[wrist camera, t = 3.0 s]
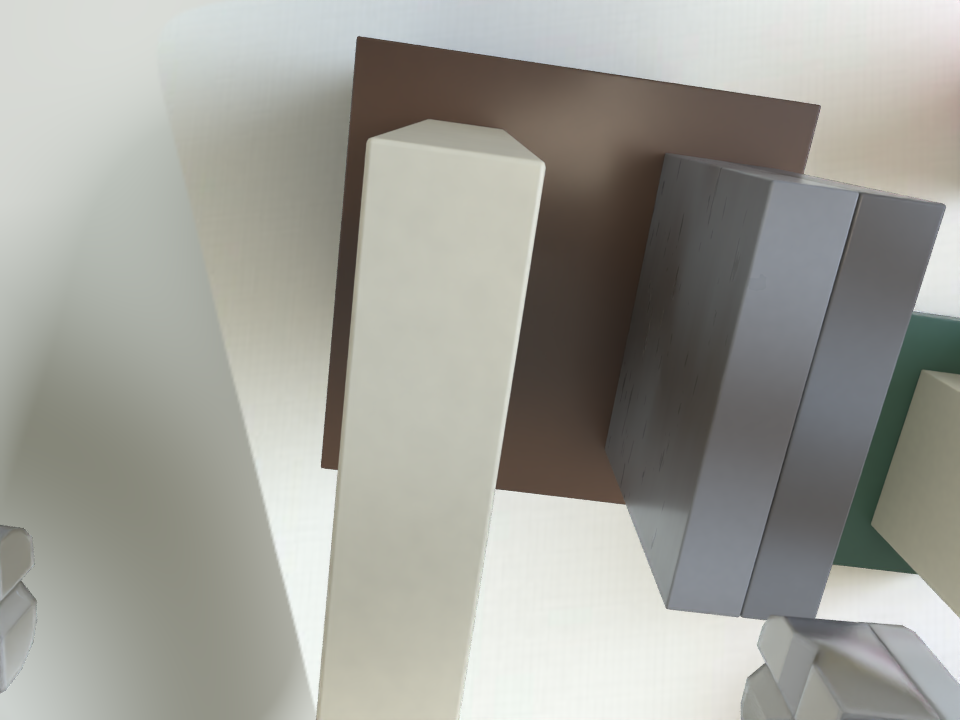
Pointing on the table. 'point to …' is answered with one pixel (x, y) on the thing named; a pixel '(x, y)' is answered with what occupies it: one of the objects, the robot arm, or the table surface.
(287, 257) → the table surface
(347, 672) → the cream book
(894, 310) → the walnut stand
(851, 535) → the book tray
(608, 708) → the table surface
